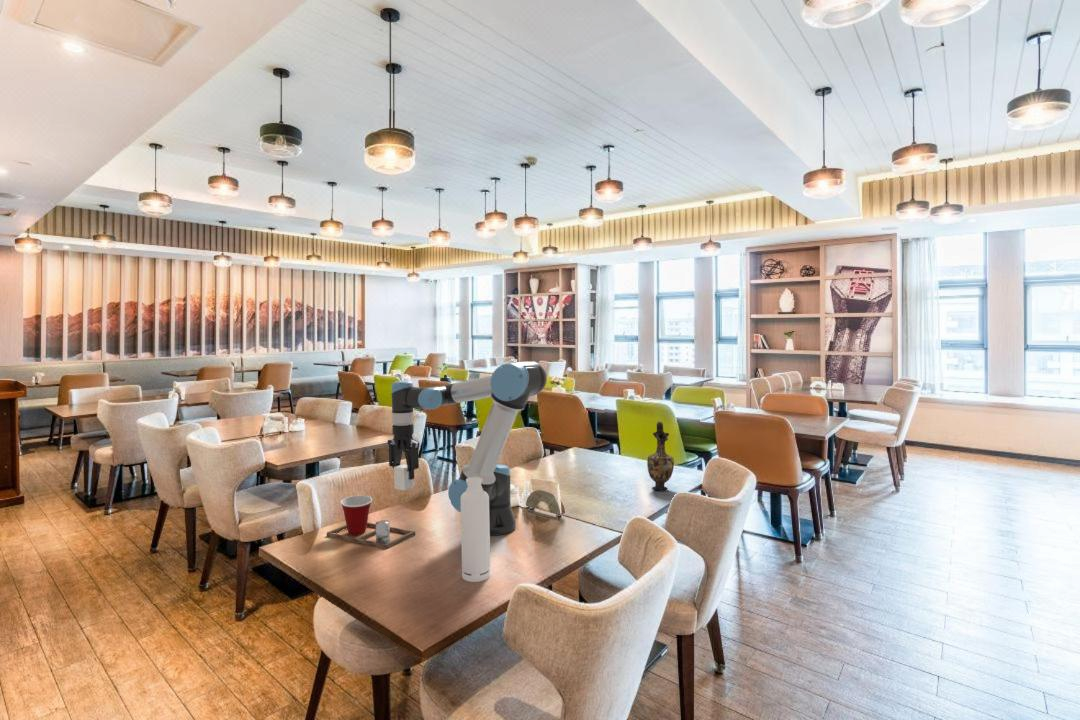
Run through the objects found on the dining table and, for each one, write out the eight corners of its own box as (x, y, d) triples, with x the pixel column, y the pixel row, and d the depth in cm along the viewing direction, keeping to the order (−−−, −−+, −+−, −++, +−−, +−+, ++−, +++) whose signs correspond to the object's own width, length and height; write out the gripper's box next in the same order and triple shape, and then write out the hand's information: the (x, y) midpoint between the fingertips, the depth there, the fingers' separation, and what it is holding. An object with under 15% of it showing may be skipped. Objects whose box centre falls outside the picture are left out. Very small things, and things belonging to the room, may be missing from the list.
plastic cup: (348, 540, 180) (347, 506, 180) (336, 532, 188) (335, 499, 188) (378, 532, 188) (377, 499, 187) (365, 525, 196) (364, 493, 195)
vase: (648, 492, 233) (647, 424, 232) (647, 484, 245) (646, 420, 244) (675, 493, 231) (674, 425, 230) (672, 485, 243) (672, 420, 242)
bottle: (463, 570, 155) (461, 476, 154) (490, 568, 156) (488, 474, 155) (461, 582, 147) (459, 483, 146) (490, 581, 148) (488, 482, 147)
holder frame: (415, 534, 185) (415, 531, 185) (386, 548, 172) (386, 545, 172) (357, 523, 198) (357, 520, 198) (326, 535, 185) (326, 532, 185)
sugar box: (414, 487, 193) (413, 465, 193) (404, 490, 189) (404, 468, 189) (404, 485, 196) (403, 464, 196) (394, 488, 192) (393, 466, 191)
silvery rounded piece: (392, 541, 179) (392, 521, 179) (383, 546, 175) (382, 525, 175) (382, 539, 181) (382, 519, 181) (373, 544, 177) (372, 523, 177)
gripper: (428, 423, 190) (429, 487, 191) (392, 420, 199) (393, 481, 200) (414, 426, 184) (415, 492, 185) (377, 423, 193) (378, 486, 194)
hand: (404, 486), depth 192 cm, fingers closed on sugar box, 5 cm apart
